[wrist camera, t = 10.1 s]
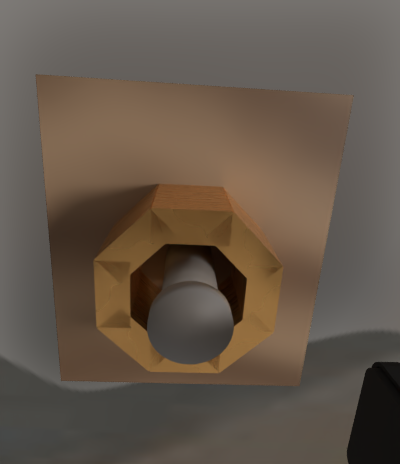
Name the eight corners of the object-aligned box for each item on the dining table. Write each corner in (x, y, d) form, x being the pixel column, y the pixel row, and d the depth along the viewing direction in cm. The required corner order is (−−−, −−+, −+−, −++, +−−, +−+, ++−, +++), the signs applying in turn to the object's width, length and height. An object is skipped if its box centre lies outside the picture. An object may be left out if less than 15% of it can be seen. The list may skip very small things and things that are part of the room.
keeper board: (294, 372, 20) (342, 493, 14) (67, 366, 19) (11, 491, 13) (343, 95, 15) (449, 92, 9) (45, 75, 15) (-58, 58, 8)
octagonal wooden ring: (252, 321, 17) (267, 374, 14) (115, 317, 17) (98, 370, 14) (267, 188, 15) (291, 214, 12) (112, 181, 15) (91, 205, 12)
